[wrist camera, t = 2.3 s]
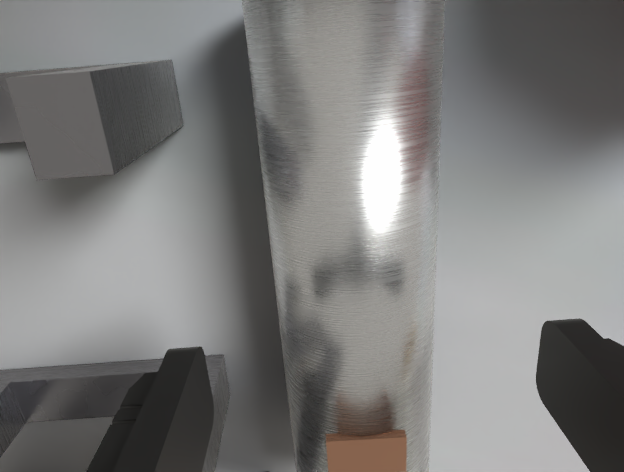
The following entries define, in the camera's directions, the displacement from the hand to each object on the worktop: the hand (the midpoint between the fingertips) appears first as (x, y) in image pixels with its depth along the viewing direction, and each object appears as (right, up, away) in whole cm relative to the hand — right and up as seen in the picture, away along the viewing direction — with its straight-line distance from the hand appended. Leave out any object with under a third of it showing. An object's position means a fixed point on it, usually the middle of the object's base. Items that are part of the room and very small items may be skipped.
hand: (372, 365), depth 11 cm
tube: (0, +3, +6) cm, 7 cm away
